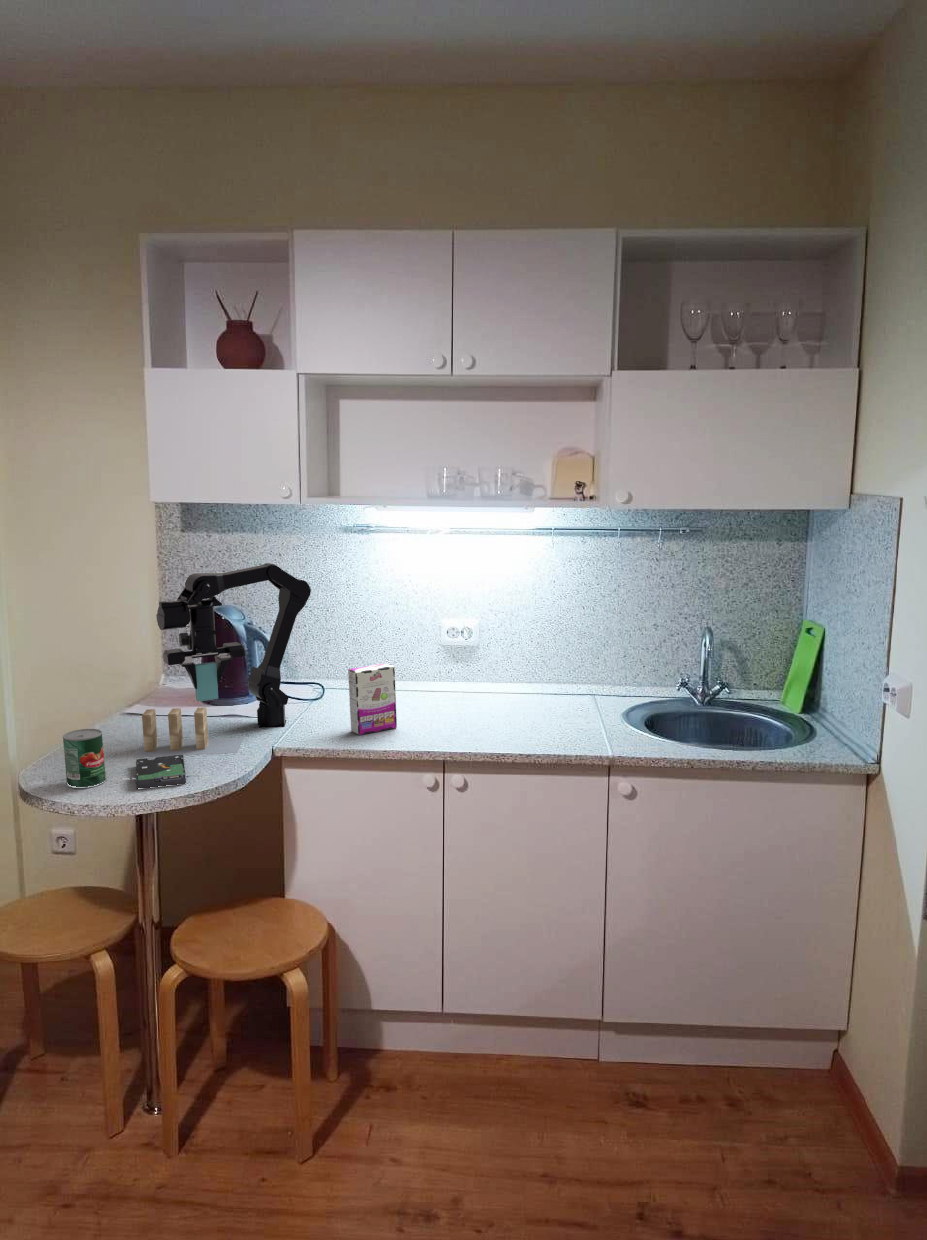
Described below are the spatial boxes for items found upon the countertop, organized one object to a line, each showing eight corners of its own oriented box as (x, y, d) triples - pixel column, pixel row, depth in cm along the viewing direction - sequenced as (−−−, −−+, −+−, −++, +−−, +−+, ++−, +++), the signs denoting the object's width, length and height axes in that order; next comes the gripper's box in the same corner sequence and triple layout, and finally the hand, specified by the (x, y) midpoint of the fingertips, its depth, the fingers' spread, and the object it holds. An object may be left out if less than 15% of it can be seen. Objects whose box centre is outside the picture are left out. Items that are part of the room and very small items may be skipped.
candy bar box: (388, 723, 244) (386, 662, 241) (397, 728, 239) (395, 666, 236) (349, 731, 237) (347, 668, 235) (358, 736, 233) (356, 672, 230)
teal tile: (196, 699, 231) (193, 664, 229) (216, 697, 233) (214, 661, 232) (198, 701, 229) (195, 665, 228) (218, 698, 232) (216, 663, 230)
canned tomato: (74, 776, 206) (70, 728, 204) (111, 775, 206) (107, 727, 204) (61, 789, 198) (56, 739, 196) (99, 788, 198) (95, 738, 196)
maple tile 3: (183, 744, 227) (180, 708, 225) (179, 750, 222) (176, 713, 220) (174, 744, 226) (172, 708, 225) (170, 750, 221) (168, 714, 220)
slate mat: (243, 739, 231) (243, 737, 231) (237, 754, 220) (237, 752, 220) (144, 743, 229) (144, 741, 229) (132, 759, 217) (132, 757, 217)
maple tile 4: (157, 745, 226) (155, 709, 224) (153, 751, 221) (150, 714, 219) (149, 745, 226) (146, 709, 224) (144, 751, 221) (141, 715, 219)
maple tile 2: (208, 743, 227) (206, 707, 226) (205, 749, 222) (202, 712, 221) (200, 743, 227) (197, 707, 225) (196, 749, 222) (194, 713, 220)
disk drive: (136, 771, 211) (136, 792, 197) (135, 759, 211) (135, 779, 197) (183, 765, 214) (187, 786, 201) (183, 753, 214) (186, 773, 200)
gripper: (231, 616, 239) (234, 676, 242) (156, 624, 230) (160, 685, 233) (243, 623, 230) (247, 684, 233) (166, 631, 221) (170, 695, 224)
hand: (206, 687), depth 231 cm, fingers closed on teal tile, 5 cm apart
